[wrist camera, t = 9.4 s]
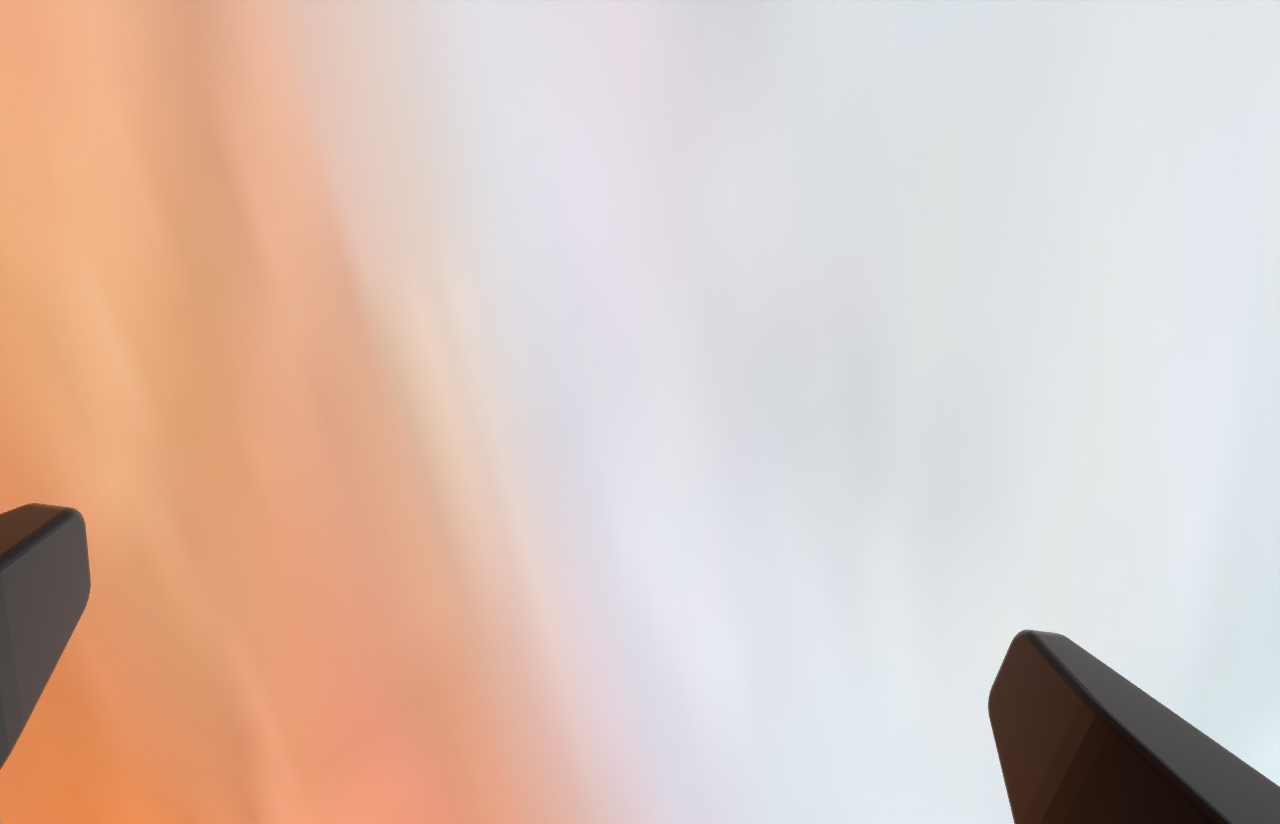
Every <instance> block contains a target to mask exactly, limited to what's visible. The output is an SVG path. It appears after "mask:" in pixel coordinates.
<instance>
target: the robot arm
mask: <svg viewBox="0 0 1280 824" xmlns="http://www.w3.org/2000/svg"><path fill="white" fill-rule="evenodd" d="M90 585H91V583H90V570H89V559H88V548H87V537H86V527H85V522H84V518H83V516H82V514H81V513H80V512H79V511H77V510H76V509H74V508H69V507H61V506H54V505H46V504H38V503H32V504H27V505H24V506H21V507H18V508H16V509H13V510H10V511H8V512H5V513H2V514H0V769H1V768H2V766H3V765H4V763H5V761H6V760H7V758H8V757H9V755H10V753H11V751H12V750H13V748H14V746H15V744H16V742H17V740H18V739H19V737H20V735H21V733H22V731H23V729H24V728H25V726H26V724H27V722H28V720H29V718H30V716H31V714H32V712H33V710H34V708H35V706H36V704H37V702H38V700H39V698H40V696H41V694H42V692H43V690H44V688H45V686H46V684H47V682H48V680H49V678H50V676H51V674H52V672H53V671H54V669H55V667H56V665H57V663H58V661H59V659H60V657H61V655H62V653H63V651H64V649H65V647H66V645H67V643H68V641H69V639H70V637H71V635H72V633H73V631H74V629H75V627H76V625H77V623H78V621H79V619H80V617H81V615H82V613H83V612H84V609H85V607H86V604H87V601H88V598H89V593H90ZM988 710H989V718H990V722H991V726H992V730H993V735H994V739H995V743H996V747H997V752H998V756H999V760H1000V764H1001V769H1002V773H1003V777H1004V781H1005V786H1006V790H1007V794H1008V798H1009V802H1010V807H1011V811H1012V815H1013V819H1014V824H1280V787H1279V786H1278V785H1276V784H1275V783H1274V782H1272V781H1271V780H1269V779H1268V778H1266V777H1265V776H1264V775H1262V774H1261V773H1259V772H1258V771H1256V770H1255V769H1254V768H1252V767H1251V766H1249V765H1248V764H1246V763H1245V762H1244V761H1242V760H1241V759H1239V758H1238V757H1237V756H1235V755H1234V754H1232V753H1231V752H1229V751H1228V750H1227V749H1225V748H1224V747H1222V746H1221V745H1219V744H1218V743H1217V742H1215V741H1214V740H1212V739H1211V738H1209V737H1208V736H1207V735H1205V734H1204V733H1202V732H1201V731H1200V730H1198V729H1197V728H1195V727H1194V726H1192V725H1191V724H1190V723H1188V722H1187V721H1185V720H1184V719H1182V718H1181V717H1180V716H1178V715H1177V714H1175V713H1174V712H1172V711H1171V710H1170V709H1168V708H1167V707H1165V706H1164V705H1162V704H1161V703H1160V702H1158V701H1157V700H1155V699H1154V698H1153V697H1151V696H1150V695H1148V694H1147V693H1145V692H1144V691H1143V690H1141V689H1140V688H1138V687H1137V686H1135V685H1134V684H1133V683H1131V682H1130V681H1128V680H1127V679H1125V678H1124V677H1123V676H1121V675H1120V674H1118V673H1117V672H1115V671H1114V670H1113V669H1111V668H1110V667H1108V666H1107V665H1106V664H1104V663H1103V662H1101V661H1100V660H1098V659H1097V658H1096V657H1094V656H1093V655H1091V654H1090V653H1088V652H1087V651H1086V650H1084V649H1083V648H1081V647H1080V646H1078V645H1077V644H1076V643H1074V642H1073V641H1071V640H1070V639H1069V638H1067V637H1065V636H1064V635H1061V634H1058V633H1051V632H1043V631H1035V630H1023V631H1021V632H1019V633H1018V634H1017V635H1016V636H1015V637H1014V638H1013V640H1012V642H1011V644H1010V647H1009V649H1008V651H1007V653H1006V656H1005V658H1004V660H1003V663H1002V665H1001V667H1000V669H999V672H998V674H997V676H996V679H995V681H994V683H993V685H992V688H991V691H990V695H989V702H988Z"/></svg>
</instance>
